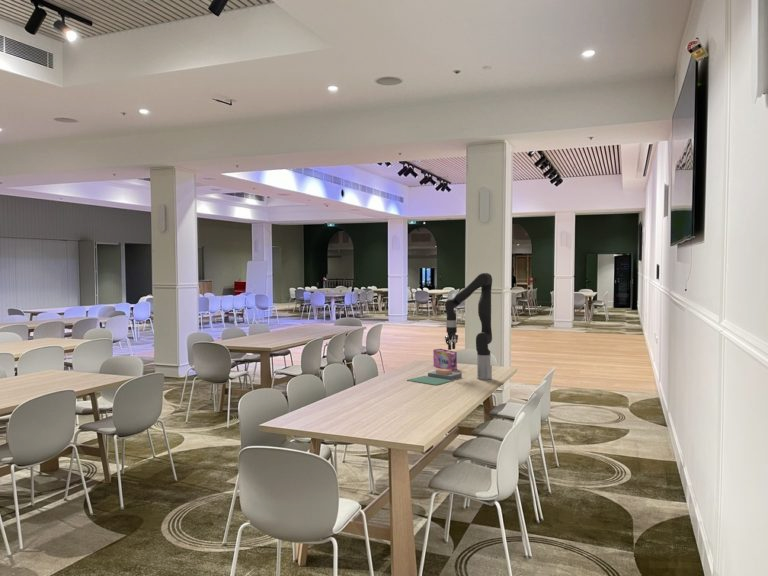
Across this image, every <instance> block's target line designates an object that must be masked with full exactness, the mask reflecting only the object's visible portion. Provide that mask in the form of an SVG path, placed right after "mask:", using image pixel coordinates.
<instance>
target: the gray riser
mask: <svg viewBox="0 0 768 576" xmlns="http://www.w3.org/2000/svg"><path fill="white" fill-rule="evenodd" d="M427 376H429V377H436V378H443V379H449V380H457V379H461V378H462V377H463V375H462V373H461V372H455V371H452V373H451V374H447V375H445V374H438V373H436V370H434V371H429V372H427Z"/></svg>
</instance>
